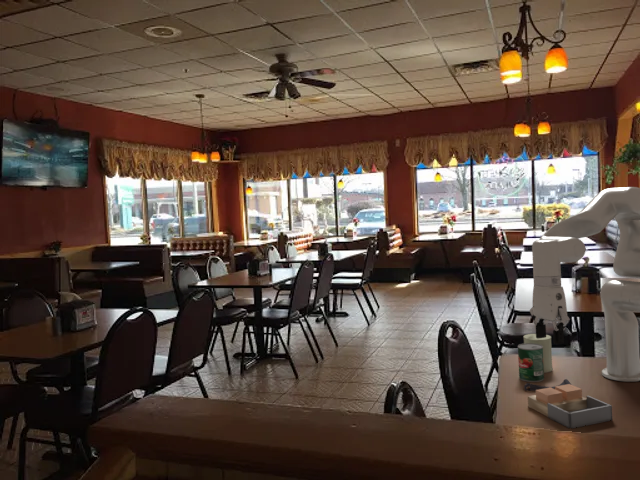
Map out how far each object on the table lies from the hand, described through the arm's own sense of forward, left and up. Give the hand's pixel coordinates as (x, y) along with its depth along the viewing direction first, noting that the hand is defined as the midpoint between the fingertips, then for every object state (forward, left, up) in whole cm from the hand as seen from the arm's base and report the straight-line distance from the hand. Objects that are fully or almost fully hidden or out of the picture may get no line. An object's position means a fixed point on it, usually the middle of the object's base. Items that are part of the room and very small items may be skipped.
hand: (549, 340), depth 163 cm
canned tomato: (-7, -19, -18) cm, 27 cm away
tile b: (+6, +7, -15) cm, 18 cm away
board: (+3, +6, -18) cm, 19 cm away
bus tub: (+3, +15, -18) cm, 24 cm away
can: (-15, -26, -18) cm, 35 cm away
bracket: (-5, -7, -19) cm, 20 cm away
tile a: (0, +7, -15) cm, 16 cm away
